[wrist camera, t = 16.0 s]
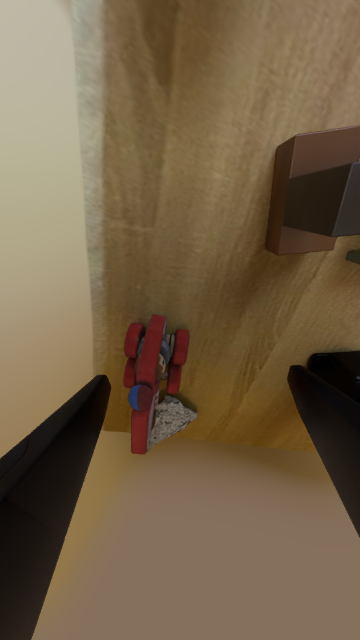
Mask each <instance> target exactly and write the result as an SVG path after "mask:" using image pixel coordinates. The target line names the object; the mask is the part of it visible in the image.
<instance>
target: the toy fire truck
mask: <svg viewBox="0 0 360 640" xmlns="http://www.w3.org/2000/svg"><path fill="white" fill-rule="evenodd" d="M165 328H166V317H164V316H160V315H152V317H151V320H150V323H149V325H148V328H147V330H146V335H145V327H144V325H143V324H139V323H132V324H131V325H130V326H129V328H128V331H127V334H126V339H125V347H124V350H125V355H126V357H129V358H128V361H127V364H126V367H125V372H124V380H123V381H124V386H125V387H126V388H131V390H130V393H129V396H128V401H129V404H130V406H131V407H132V408H133V409H132V415H131V452H132V453H133V454H145V453H146V452H147V448H148V443H149V438H150V433H151V426H152V421H153V416H154V411H155V409H156V408H157V405H158V398H159V389H160V387H159V383H160V379H168V381H167V390H166V391H167V393H170V394H177V393H178V392H179V387H180V380H181V368H182V365H184V364H185V362H186V358H187V352H188V345H189V331H188V330H182V329H177V330H176V334H175V335H172V334H170V335H169V334H167V335H166V336H165ZM170 356H171V357H172V361H171V362H170V365H169V372H164V371H165V366H166V364H167V363H168V362H169V359H170Z"/></svg>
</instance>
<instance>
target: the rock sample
mask: <svg viewBox="0 0 360 640" xmlns="http://www.w3.org/2000/svg"><path fill="white" fill-rule="evenodd" d="M197 414H198V412H196V411H194V410H192V409H190V408H187V407H184V406H183V405H182V403H181V402H180V401H179V400H178V399H177V398H175V397H173V396H169V395H164V398H163V401H162V402H160V403H159V404H158V405H157V408H156V409H155V411H154V416H153V421H152V426H151V433H150V438H149V443H148V448H147V452H148V451H149V450H150V449H151V447H152V446H153V445H155V444H157V442H160V441H161V440H163V439H164V438H165V437H168V436H172V435H174V434H175V433H176V432H179V431H180V430H183V429H184V428H185V427H186V426H187V425H188V423H190V422H191V421H192V420H194V419H195V418H196V416H197Z"/></svg>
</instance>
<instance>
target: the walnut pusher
mask: <svg viewBox="0 0 360 640" xmlns="http://www.w3.org/2000/svg"><path fill="white" fill-rule="evenodd" d="M359 159H360V125H359V126H352V127H345V128H338V129H331V130H324V131H318V132H311V133H304V134H297V135H295V136H293V137H292V138H290V139H289V140H287V141H285V142H284V143H282V144H281V145H279V146H278V147H277V153H276V161H275V170H274V179H273V187H272V196H271V205H270V213H269V222H268V230H267V239H266V249H267V250H269V251H271V252H273V253H274V254H276V255H288V254H299V253H309V252H319V251H330V250H333V249H334V245H335V242H336V238H337V237H340V236H350V235H360V161H359Z"/></svg>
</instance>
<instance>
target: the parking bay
mask: <svg viewBox="0 0 360 640" xmlns="http://www.w3.org/2000/svg"><path fill="white" fill-rule="evenodd" d="M346 260H349V261H352V262H355V263H358V264H360V250H357V251H349V252H348V255H347V258H346Z"/></svg>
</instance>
